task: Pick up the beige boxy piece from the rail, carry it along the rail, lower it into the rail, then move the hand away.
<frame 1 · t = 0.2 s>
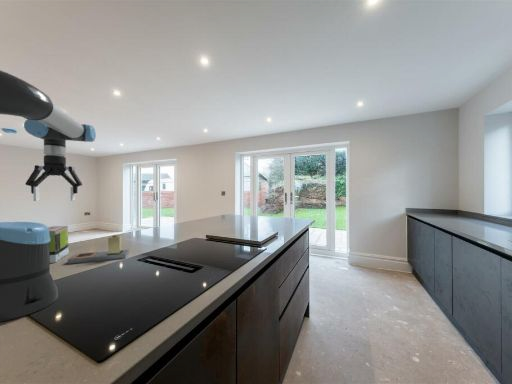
hand: (55, 200, 99), 28 cm above the countertop, fingers open, 13 cm apart
rail: (100, 258, 99), on the countertop
beige boxy piece: (115, 256, 102), resting in rail
tea box: (49, 259, 98), on the countertop
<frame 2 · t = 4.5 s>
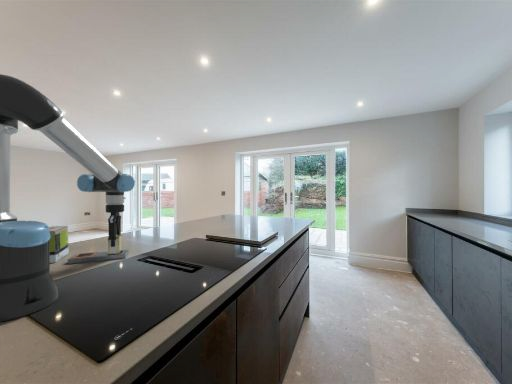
hand: (114, 251, 101), 3 cm above the countertop, fingers closed on beige boxy piece, 4 cm apart
beige boxy piece: (115, 256, 101), resting in rail, touching gripper
everything else where it was.
when the fingers open (3 cm above the countertop, at t = 9.8 s): beige boxy piece stays where it is, resting in rail.
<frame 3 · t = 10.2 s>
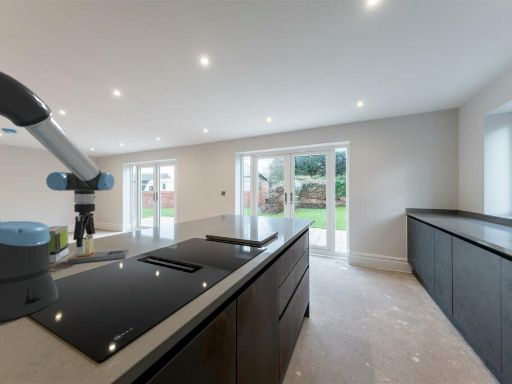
hand: (85, 250, 97), 4 cm above the countertop, fingers open, 10 cm apart
beige boxy piece: (85, 259, 97), resting in rail
everything else where it was.
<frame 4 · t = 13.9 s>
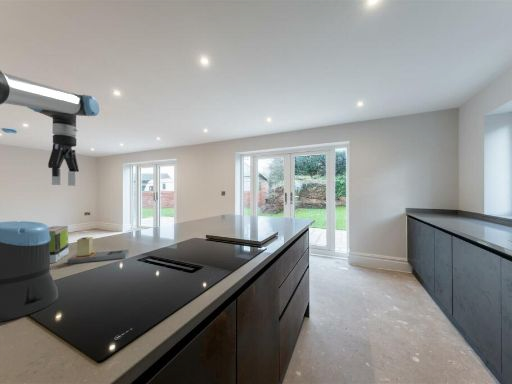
hand: (65, 185, 90), 35 cm above the countertop, fingers open, 13 cm apart
nothing on the countertop moved.
at the end: beige boxy piece 0.0 cm from the target spot on the rail, point 0.0 cm above the rail's base; beige boxy piece tilted 0°; the gripper is holding nothing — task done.
